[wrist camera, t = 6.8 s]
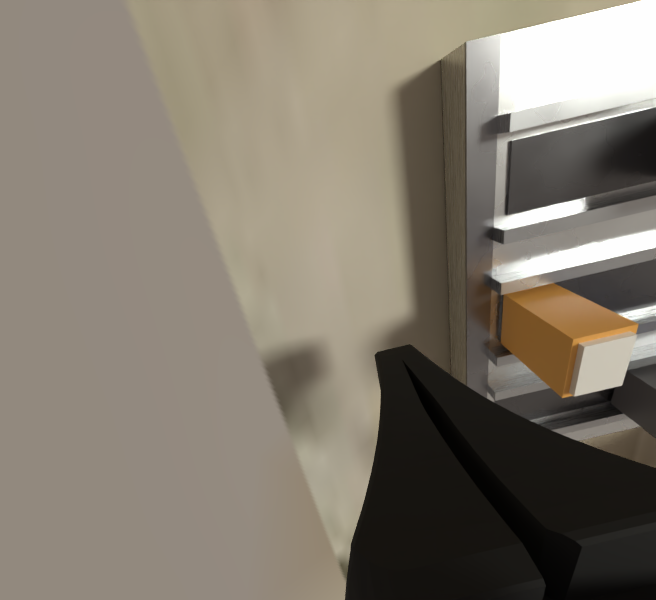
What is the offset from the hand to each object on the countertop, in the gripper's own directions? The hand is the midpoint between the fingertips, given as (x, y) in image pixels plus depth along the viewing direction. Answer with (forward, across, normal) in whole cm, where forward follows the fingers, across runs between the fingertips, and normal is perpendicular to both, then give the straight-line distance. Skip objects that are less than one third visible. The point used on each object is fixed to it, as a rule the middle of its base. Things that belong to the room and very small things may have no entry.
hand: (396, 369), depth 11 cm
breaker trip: (+1, -6, 0) cm, 6 cm away
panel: (+3, -9, 0) cm, 10 cm away
